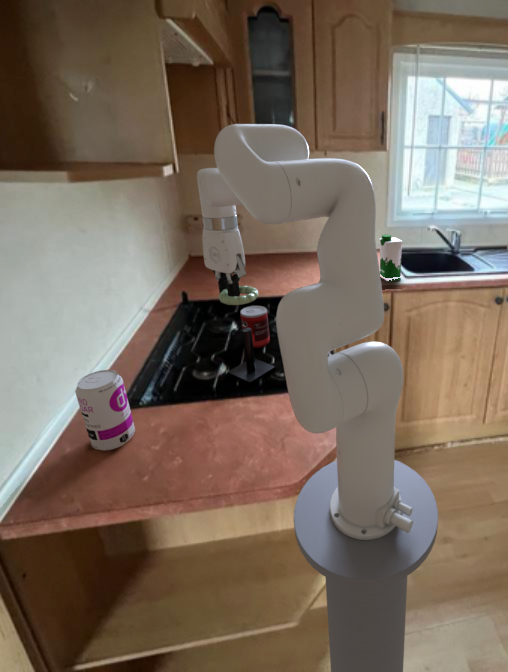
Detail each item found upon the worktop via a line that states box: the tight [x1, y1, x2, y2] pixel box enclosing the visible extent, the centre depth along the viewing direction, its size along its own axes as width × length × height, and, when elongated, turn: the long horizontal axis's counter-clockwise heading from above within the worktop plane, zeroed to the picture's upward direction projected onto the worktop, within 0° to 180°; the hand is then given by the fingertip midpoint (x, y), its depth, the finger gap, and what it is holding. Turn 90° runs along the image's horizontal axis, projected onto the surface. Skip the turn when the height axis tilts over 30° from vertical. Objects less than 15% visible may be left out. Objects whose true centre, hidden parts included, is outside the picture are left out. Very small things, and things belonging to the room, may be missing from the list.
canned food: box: [240, 305, 271, 349], centre depth 127 cm, size 8×8×11 cm
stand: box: [226, 328, 276, 387], centre depth 110 cm, size 9×9×13 cm
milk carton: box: [378, 234, 403, 282], centre depth 181 cm, size 9×9×20 cm
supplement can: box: [75, 369, 136, 451], centre depth 85 cm, size 8×8×15 cm
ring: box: [218, 285, 260, 306], centre depth 100 cm, size 9×9×2 cm
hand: (230, 295), depth 102 cm, fingers closed on ring, 2 cm apart
